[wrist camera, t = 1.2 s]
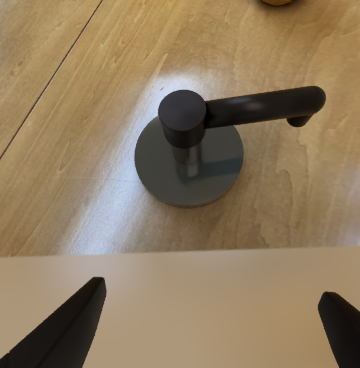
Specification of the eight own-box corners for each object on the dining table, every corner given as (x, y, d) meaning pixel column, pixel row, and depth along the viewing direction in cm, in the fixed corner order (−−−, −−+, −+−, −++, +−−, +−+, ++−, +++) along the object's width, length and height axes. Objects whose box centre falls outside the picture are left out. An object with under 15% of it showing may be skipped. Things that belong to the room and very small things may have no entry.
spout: (166, 155, 20) (159, 134, 17) (163, 119, 21) (156, 93, 18) (314, 135, 19) (340, 109, 16) (303, 99, 21) (324, 68, 17)
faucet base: (250, 201, 23) (265, 185, 18) (140, 214, 24) (122, 202, 19) (231, 106, 27) (238, 70, 22) (136, 120, 28) (120, 88, 22)
